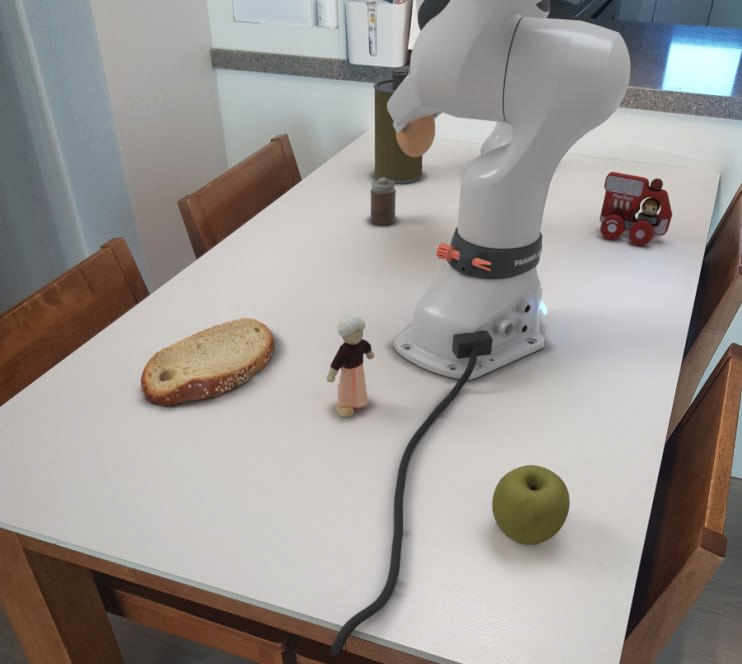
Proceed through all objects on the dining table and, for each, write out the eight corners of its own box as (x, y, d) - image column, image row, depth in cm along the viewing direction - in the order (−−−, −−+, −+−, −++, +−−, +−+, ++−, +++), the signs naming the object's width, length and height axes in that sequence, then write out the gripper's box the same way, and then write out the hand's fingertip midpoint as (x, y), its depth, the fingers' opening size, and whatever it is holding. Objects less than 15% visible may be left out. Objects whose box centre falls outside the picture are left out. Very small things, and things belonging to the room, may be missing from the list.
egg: (389, 159, 127) (389, 100, 121) (404, 148, 132) (405, 91, 126) (425, 164, 125) (427, 105, 119) (439, 153, 130) (442, 95, 124)
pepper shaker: (384, 227, 138) (384, 183, 133) (365, 221, 141) (365, 177, 135) (400, 220, 141) (401, 176, 135) (381, 214, 143) (382, 171, 138)
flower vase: (544, 180, 157) (565, 43, 140) (457, 173, 160) (467, 38, 143) (548, 161, 166) (568, 30, 149) (465, 154, 169) (476, 25, 153)
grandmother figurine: (349, 425, 92) (347, 333, 84) (324, 416, 94) (319, 324, 85) (382, 395, 97) (383, 306, 89) (357, 387, 99) (356, 298, 90)
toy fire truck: (659, 250, 130) (675, 189, 124) (589, 236, 135) (601, 176, 128) (668, 236, 135) (684, 177, 128) (601, 223, 140) (613, 165, 133)
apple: (480, 548, 76) (487, 496, 72) (498, 499, 82) (506, 448, 77) (554, 568, 74) (566, 515, 70) (568, 516, 80) (580, 464, 75)
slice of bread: (272, 328, 110) (270, 304, 108) (282, 395, 97) (280, 371, 95) (147, 339, 108) (142, 315, 106) (140, 410, 95) (134, 385, 92)
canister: (423, 184, 155) (428, 76, 142) (373, 184, 155) (373, 76, 142) (421, 166, 163) (425, 62, 150) (374, 166, 163) (373, 62, 150)
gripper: (493, 36, 119) (440, 93, 131) (411, 58, 108) (362, 119, 119) (513, 71, 120) (459, 125, 131) (434, 97, 109) (383, 154, 120)
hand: (412, 122), depth 125 cm, fingers closed on egg, 6 cm apart
